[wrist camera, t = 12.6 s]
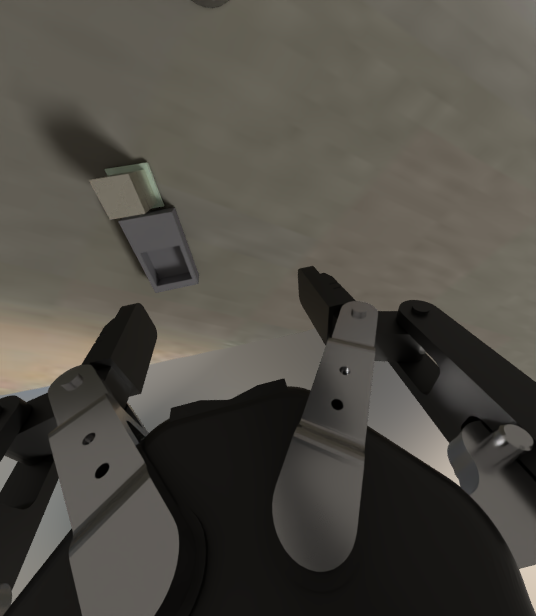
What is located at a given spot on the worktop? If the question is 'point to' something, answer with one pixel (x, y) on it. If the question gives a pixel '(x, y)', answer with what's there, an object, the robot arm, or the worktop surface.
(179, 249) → the grey holder tray
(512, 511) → the robot arm
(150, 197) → the beige rectangular block
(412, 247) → the worktop surface
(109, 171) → the mat
